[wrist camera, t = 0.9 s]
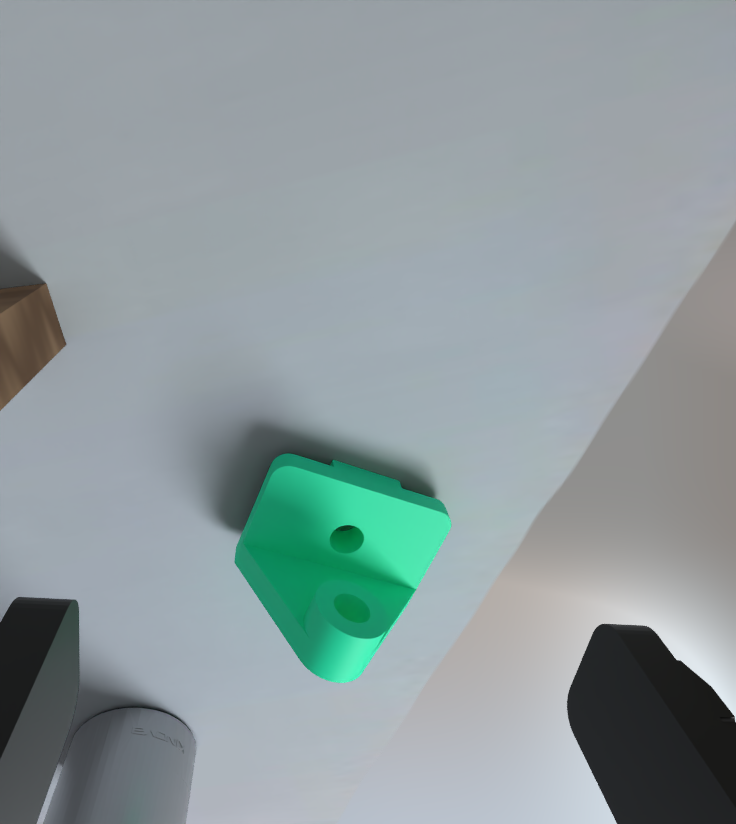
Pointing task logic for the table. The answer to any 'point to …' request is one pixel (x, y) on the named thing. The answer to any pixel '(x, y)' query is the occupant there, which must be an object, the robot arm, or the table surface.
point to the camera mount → (337, 558)
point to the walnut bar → (26, 336)
